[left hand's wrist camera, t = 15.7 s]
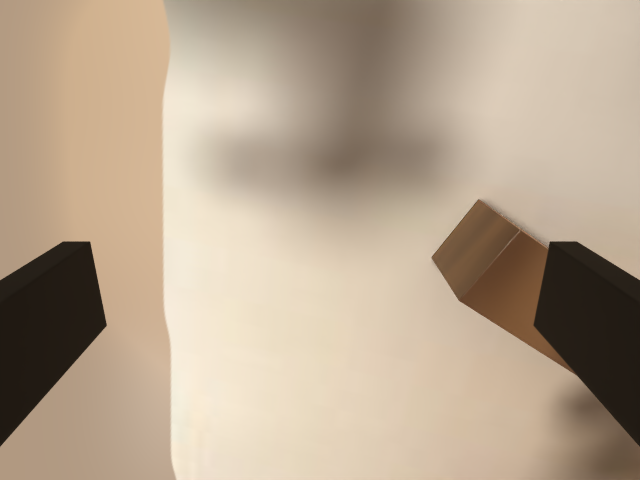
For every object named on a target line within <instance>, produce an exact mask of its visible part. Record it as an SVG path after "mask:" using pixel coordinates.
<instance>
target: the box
mask: <svg viewBox="0 0 640 480" xmlns="http://www.w3.org/2000/svg"><path fill="white" fill-rule="evenodd" d="M548 249H549V248H548V247H546V246H545V245H543V244H542V243H540V242H539V241H538V240H536V239H535V238H533V237H532V236H530V235H529V234H528V233H526V232H525V231H523V230H522V229H520V228H519V227H518V226H516V225H515V224H513V223H512V222H510V221H509V220H508V219H506V218H505V217H503V216H502V215H500V214H499V213H498V212H496V211H495V210H493V209H492V208H490V207H489V206H488V205H486V204H485V203H483V202H482V201H480V200H478V201H477V202H476V204H475V205H474V206H473V207H472V209H471V210H470V211H469V212H468V213H467V215H466V216H465V217H464V218H463V220H462V221H461V222H460V223H459V225H458V226H457V227H456V228H455V229H454V231H453V232H452V233H451V234H450V236H449V237H448V238H447V239H446V241H445V242H444V243H443V244H442V245H441V247H440V248H439V249H438V250H437V252H436V253H435V254H434V255H433V257H432V259H433V261H434V262H435V264H436V265H437V267H438V269H439V270H440V272H441V273H442V275H443V276H444V278H445V280H446V281H447V283H448V284H449V286H450V287H451V289H452V290H453V292H454V294H455V295H456V297H457V298H458V300H459V301H460V302H462V303H464V304H465V305H467V306H468V307H470V308H471V309H473V310H475V311H476V312H478V313H479V314H481V315H482V316H484V317H486V318H487V319H489V320H490V321H492V322H493V323H495V324H497V325H498V326H500V327H501V328H503V329H505V330H506V331H508V332H509V333H511V334H512V335H514V336H516V337H517V338H519V339H520V340H522V341H523V342H525V343H527V344H528V345H530V346H531V347H533V348H534V349H536V350H538V351H539V352H541V353H542V354H544V355H546V356H547V357H549V358H550V359H552V360H553V361H555V362H557V363H558V364H560V365H561V366H563V367H564V368H566V369H568V370H569V371H571V372H572V373H574V374H575V372H574V371H573V370H572V369H571V368H570V367H569V366H568V364H567V363H566V362H565V361H564V360H563V359H562V358H561V357H560V355H559V354H558V353H557V352H556V351H555V350H554V349H553V347H552V346H551V345H550V344H549V343H548V342H547V341H546V339H545V338H544V337H543V336H542V335H541V334H540V333H539V332H538V330H537V329H536V328H535V327H534V326H533V324H534V319H535V314H536V309H537V304H538V299H539V294H540V289H541V284H542V279H543V274H544V269H545V264H546V259H547V254H548ZM575 375H576V374H575Z"/></svg>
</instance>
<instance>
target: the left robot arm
mask: <svg viewBox="0 0 640 480" xmlns="http://www.w3.org/2000/svg"><path fill="white" fill-rule="evenodd" d="M106 326H107V324H106V320H105V314H104V309H103V304H102V299H101V294H100V289H99V284H98V279H97V274H96V269H95V264H94V259H93V254H92V249H91V244H90V242H62V243H60V244H59V245H57V246H55V247H54V248H52V249H50V250H49V251H47V252H46V253H44V254H42V255H41V256H39V257H38V258H36V259H34V260H33V261H31V262H29V263H28V264H26V265H24V266H23V267H21V268H20V269H18V270H16V271H15V272H13V273H12V274H10V275H8V276H7V277H5V278H3V279H2V280H0V446H1V445H2V444H3V443H4V442H5V441H6V439H7V438H8V437H9V436H10V435H11V434H12V433H13V431H14V430H15V429H16V428H17V427H18V426H19V425H20V424H21V422H22V421H23V420H24V419H25V418H26V417H27V416H28V414H29V413H30V412H31V411H32V410H33V409H34V408H35V406H36V405H37V404H38V403H39V402H40V401H41V400H42V398H43V397H44V396H45V395H46V394H47V393H48V392H49V391H50V389H51V388H52V387H53V386H54V385H55V384H56V383H57V381H58V380H59V379H60V378H61V377H62V376H63V375H64V373H65V372H66V371H67V370H68V369H69V368H70V367H71V366H72V364H73V363H74V362H75V361H76V360H77V359H78V358H79V356H80V355H81V354H82V353H83V352H84V351H85V350H86V349H87V347H88V346H89V345H90V344H91V343H92V342H93V341H94V339H95V338H96V337H97V336H98V335H99V334H100V333H101V332H102V330H103V329H104V328H105V327H106ZM533 326H534V327H535V328H536V329H537V330H538V332H539V333H540V334H541V335H542V336H543V337H544V338H545V339H546V341H547V342H548V343H549V344H550V345H551V346H552V347H553V349H554V350H555V351H556V352H557V353H558V354H559V355H560V357H561V358H562V359H563V360H564V361H565V362H566V363H567V364H568V366H569V367H570V368H571V369H572V370H573V371H574V372H575V374H576V375H577V376H578V377H579V378H580V379H581V380H582V381H583V383H584V384H585V385H586V386H587V387H588V388H589V389H590V391H591V392H592V393H593V394H594V395H595V396H596V397H597V399H598V400H599V401H600V402H601V403H602V404H603V405H604V406H605V408H606V409H607V410H608V411H609V412H610V413H611V414H612V416H613V417H614V418H615V419H616V420H617V421H618V422H619V424H620V425H621V426H622V427H623V428H624V429H625V430H626V431H627V433H628V434H629V435H630V436H631V437H632V438H633V439H634V441H635V442H636V443H637V444H638V445H639V446H640V280H638V279H637V278H635V277H633V276H632V275H630V274H629V273H627V272H625V271H624V270H622V269H620V268H619V267H617V266H616V265H614V264H612V263H611V262H609V261H607V260H606V259H604V258H603V257H601V256H599V255H598V254H596V253H594V252H593V251H591V250H590V249H588V248H586V247H585V246H583V245H581V244H580V243H578V242H550V244H549V249H548V254H547V259H546V264H545V269H544V274H543V279H542V284H541V289H540V294H539V299H538V304H537V309H536V314H535V319H534V324H533Z"/></svg>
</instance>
